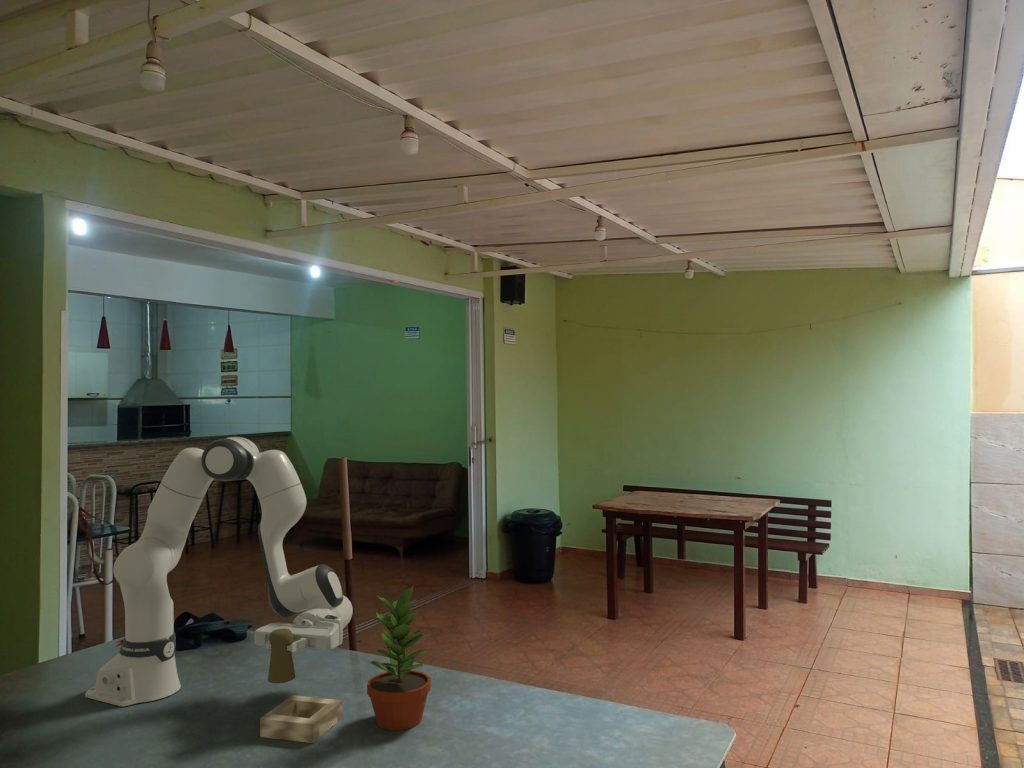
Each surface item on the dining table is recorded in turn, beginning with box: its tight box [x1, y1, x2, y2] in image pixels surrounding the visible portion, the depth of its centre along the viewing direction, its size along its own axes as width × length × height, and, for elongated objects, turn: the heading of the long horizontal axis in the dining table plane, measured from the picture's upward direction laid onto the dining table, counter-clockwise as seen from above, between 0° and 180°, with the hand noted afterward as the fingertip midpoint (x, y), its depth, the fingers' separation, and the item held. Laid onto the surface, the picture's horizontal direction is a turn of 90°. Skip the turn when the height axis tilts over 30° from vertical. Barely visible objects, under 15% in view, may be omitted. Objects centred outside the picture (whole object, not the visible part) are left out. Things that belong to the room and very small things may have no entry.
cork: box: [267, 628, 296, 684], centre depth 168 cm, size 6×6×11 cm
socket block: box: [259, 694, 344, 744], centre depth 166 cm, size 13×13×4 cm
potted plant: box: [366, 585, 432, 731], centre depth 169 cm, size 15×15×30 cm
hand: (279, 647), depth 168 cm, fingers closed on cork, 4 cm apart
